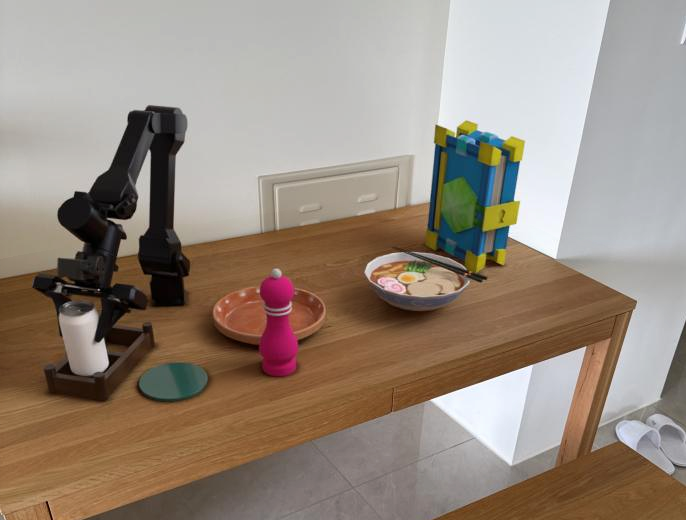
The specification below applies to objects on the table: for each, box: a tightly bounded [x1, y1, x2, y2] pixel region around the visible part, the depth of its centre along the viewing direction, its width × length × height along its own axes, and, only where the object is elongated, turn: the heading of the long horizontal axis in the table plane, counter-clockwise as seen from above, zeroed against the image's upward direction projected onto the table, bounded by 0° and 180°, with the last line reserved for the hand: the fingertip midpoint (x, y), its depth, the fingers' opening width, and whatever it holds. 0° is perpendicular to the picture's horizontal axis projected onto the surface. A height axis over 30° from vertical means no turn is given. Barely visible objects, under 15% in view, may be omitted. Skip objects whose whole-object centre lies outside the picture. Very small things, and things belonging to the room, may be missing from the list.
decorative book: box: [424, 119, 526, 274], centre depth 173 cm, size 14×23×30 cm, turn 33°
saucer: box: [212, 285, 327, 346], centre depth 147 cm, size 23×23×4 cm
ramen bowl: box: [364, 246, 488, 312], centre depth 156 cm, size 25×23×8 cm
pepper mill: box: [258, 268, 299, 377], centre depth 129 cm, size 7×7×20 cm
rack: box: [43, 315, 156, 402], centre depth 131 cm, size 20×11×5 cm, turn 168°
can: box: [59, 299, 109, 378], centre depth 124 cm, size 6×6×12 cm
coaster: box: [138, 362, 209, 402], centre depth 129 cm, size 12×12×1 cm
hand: (79, 339), depth 122 cm, fingers closed on can, 6 cm apart
